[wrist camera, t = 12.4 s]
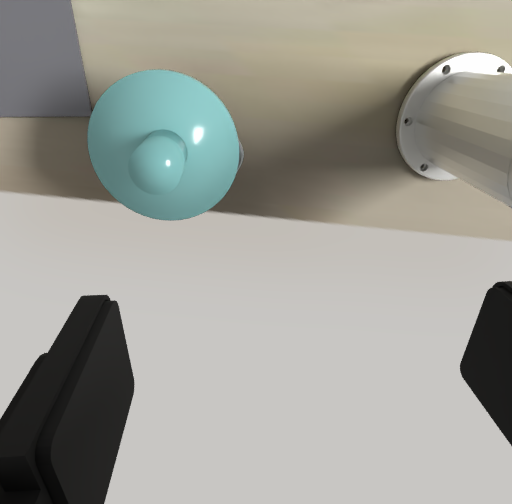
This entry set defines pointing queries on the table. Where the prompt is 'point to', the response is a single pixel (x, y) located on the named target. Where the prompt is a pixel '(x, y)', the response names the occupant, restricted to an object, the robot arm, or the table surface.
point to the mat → (41, 60)
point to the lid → (163, 144)
